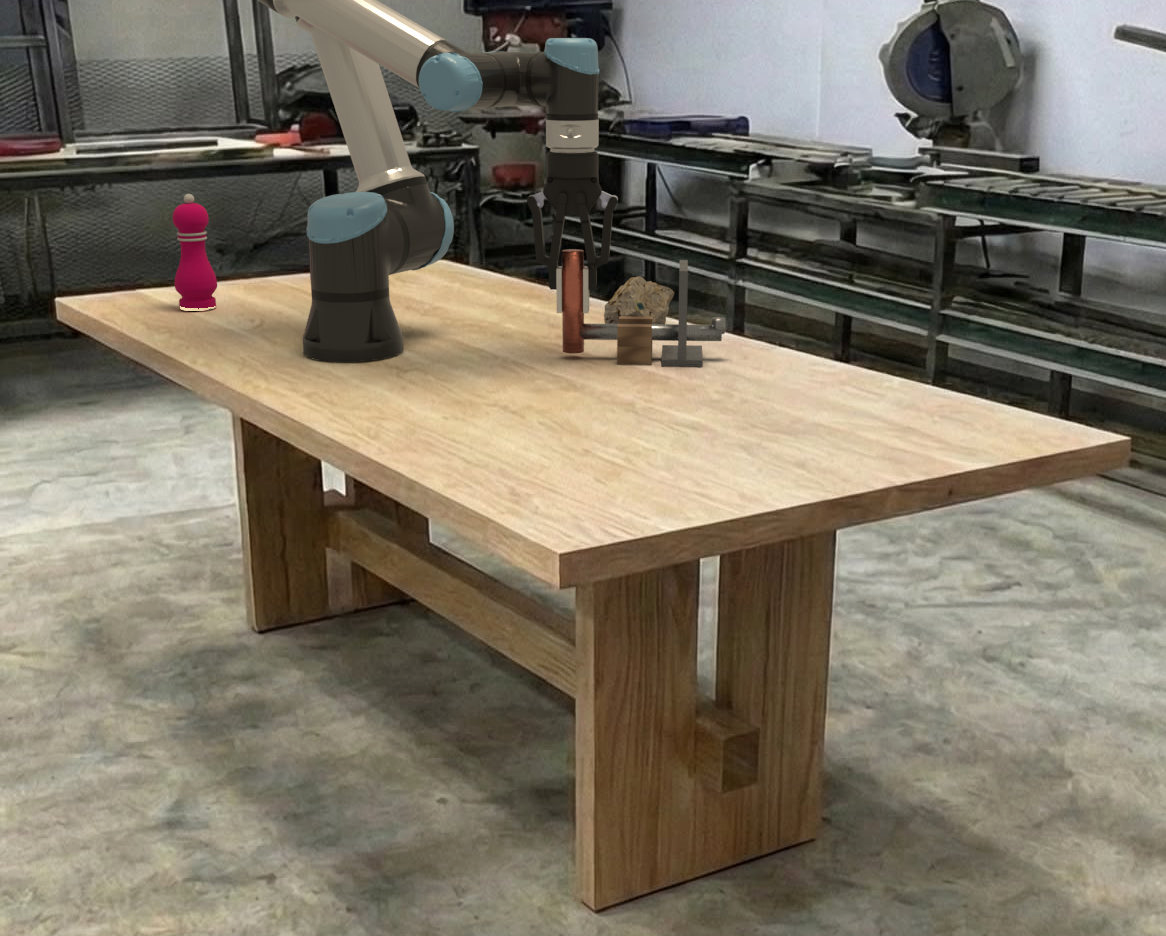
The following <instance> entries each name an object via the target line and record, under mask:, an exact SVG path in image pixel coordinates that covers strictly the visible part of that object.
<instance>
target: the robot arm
mask: <svg viewBox="0 0 1166 936" xmlns="http://www.w3.org/2000/svg"><path fill="white" fill-rule="evenodd" d="M257 2H259V3H261V4H263V5H265V6H266V7H267V8H268V9H270V10H272V11H274V12H276V13H278V14H279V15H281V16H282V17H285V18H295V22H296V26H297V27H298V28H300V29H302V30H304V31H305V32H307V33H308V34H310V35H311V39H312V43H313V45H314V48H315V51H316V55H317V57H318V60H319V64H320V66H321V67H320V68H321V70H322V73H323V75H324V79H325V82H326V86H327V88H328V92H329V94H330V97H331V100H332V103H333V105H334V106H333V107H334V109H335V112H336V115H337V118H338V122H339V124H340V128H341V131H342V134H343V137H344V140H345V143H346V147H347V149H348V153H349V156H350V159H351V162H352V165H353V168H354V172H355V174H356V176H357V180H358V186H357V188H356V191H352V192H345V193H342V194H340V193H337V194H331V195H328V196H325V197H321V198H319V199H317V200H315V201H313V203H311V204H310V206H309V207H308V210H307V226H306V236H307V247H308V248H307V250H308V263H309V277H310V291H311V292H310V293H311V306H310V308H309V313H308V316H307V320H306V324H305V329H304V331H303V336H302V354H303V355H304V356H305V357H306V356H307V358H309V357H310V358H309V359H312V358H313V360H316V359H317V361H322V360H323V362H337V363H352V362H353V363H355V362H370V361H377V360H384V359H387V358H392V357H395V356H398V355H399V354H401V353H402V352H403V351H404V337H403V333H402V330H401V328H400V326H399V322H398V320H397V317H396V314H395V311H394V308H393V306H392V304H391V303H392V302H391V300H390V299H391V297H390V280H389V279H390V277H389V276H391V275H395V274H396V275H397V274H399V273H404V272H408V271H418V270H421V269H423V268H426V267H427V266H430V265H433V264H435V263H437V262H439V261H440V260H441V259H442V258H443V257H444V256H445V255H446V253H447V252H448V250H449V248H450V245H451V244H452V241H453V239H454V238H453V237H454V232H455V225H454V223H455V222H454V217H453V213H452V211H451V208H450V207H449V204H448V203H447V202H446V200H445V199H443V198H441V197H440V196H439V195H438V194H437V193H435V192H432V191H431V190H430V188H429V184H428V182H427V178H426V176H425V174H423V173H422V172H420V171H418V170H416V169H415V168H413V166H412V164H411V160H410V157H409V154H408V152H407V149H406V146H405V141H404V139H403V136H402V133H401V130H400V127H399V123H398V120H397V118H396V114H395V111H394V108H393V104H392V101H391V98H390V96H389V95H390V94H389V92H388V89H387V85H386V82H385V80H384V77H383V73H382V71H381V67H382V68H385V69H386V70H388V71H390V72H391V73H393V74H394V75H397V76H398V77H399V78H402V79H403V80H405V81H406V82H408V83H410V84H411V85H413V86H415V87H416V88H419V91H420V93H421V95H422V97H423V99H424V100H425V101H426V103H427V104H428V105H429V106H430V107H432V108H433V109H436V110H437V111H442V112H443V111H447V112H451V113H459V112H463V111H470V110H477V109H489V108H492V109H493V108H500V107H501V108H504V107H544V108H545V141H546V142H545V146H546V147H547V148H549V151H547V153H545V155H546V156H545V159H546V161H545V163H546V164H545V165H546V167H545V169H546V171H545V173H546V178H545V179H546V180H545V181H546V182H545V184H544V186H543V188H542V191H539V192H538V193H535V194H530V195H529V196H528V197H527V198H526V203H527V205H528V207H529V211H530V212H531V215H532V216H531V217H532V226H533V228H532V229H533V240H534V250H535V261H536V263H537V264H538V265H543V266H545V267H547V268H548V287H549V289H550V290H556V314H562V265H560V266H559V264H558V263H559V258H560V257H559V256H560V252H561V251H560V250H561V246H562V239H563V232H564V226H565V220H566V217H568V216H571V215H573V216H575V217H579V222H580V224H581V233H582V237H583V243H584V250H585V255H586V262H587V265H584V268H583V313H584V314H589V312H590V291H595V290H596V288H597V286H598V279H597V278H598V268H599V267H600V266H603V265H607V264H608V263H609V260H610V254H611V253H610V252H611V251H610V250H611V239H612V229H613V228H612V226H613V215H614V211H615V208H616V206H617V204H618V202H619V201H618V200H619V198H618V196H617V195H616V194H613V195H612V194H610V193H608V192H605V191H603V188H602V186H601V184H600V181H599V153H598V151H596V150H595V149H596V148H598V146H599V145H600V144H599V138H600V137H599V136H600V135H599V129H600V127H599V126H600V125H599V123H600V122H599V121H600V120H599V74H600V72H601V71H600V68H599V51H598V50H599V49H598V44H597V42H596V41H595V40H594V39H593V38H590V37H589V38H587V37H573V38H572V37H565V38H564V37H562V38H561V37H556V38H554V37H552V38H551V37H549V38H548V39H547V40H546V41H545V43H544V45H545V46H544V50H543V51H541V52H540V51H539V52H528V51H527V52H525V51H524V52H522V51H505V50H503V51H502V50H499V51H497V50H495V51H494V50H493V51H488V52H487V51H485V52H476V53H475V52H467V51H465V50H464V49H462V48H460V47H458V46H457V45H455V44H453V43H451V42H449V41H447V40H446V39H445V38H443V37H441V36H440V35H438V34H436V33H434V32H432V31H430V30H429V29H427V28H425V27H424V26H422V25H420V24H419V23H416V22H415V21H414V20H412V19H410V18H409V17H407V16H404V15H403V14H401V13H399V12H397V11H396V10H395V9H393V8H391V7H389V6H387V5H385V4H384V3H382V2H380V1H379V0H257ZM380 66H381V67H380ZM545 199H546V201H548V203H549V204H550V206H552V207H551V208H553V210H554V211H555V217H554V218H555V219H554V227H553V233H552V238H551V239H552V240H551V246H550V251H549V255H546V254H547V253H546V243H545V234H544V233H545V232H544V222H543V211H542V208H543V207H544V205H545V202H544V200H545ZM599 199H600V201H601V207H602V208H603V209H604V212H603V219H602V220H603V221H602V233H601V244H600V246H601V247H600V255H597V253H596V247H595V242H594V235H593V229H592V228H593V227H592V223H591V216H590V211H591V210H592V208H593V207H594V205H595V204H596V203H597V201H598V200H599Z"/></svg>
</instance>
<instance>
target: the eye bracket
mask: <svg viewBox="0 0 1166 936" xmlns="http://www.w3.org/2000/svg"><path fill="white" fill-rule="evenodd" d="M688 260H689V259H680V260H679V268H678V269H679V273H678V274H679V277H678V278H679V282H678V285H679V286H678V325H679V327H678V342H677V345H676V344H673V345H672V344H662V346H661V347H662V348H661V364H660V365H661V367H667V368H668V367H671V368H673V367H674V368H675V367H676V368H677V367H679V368H682V367H683V368H687V367H688V368H691V367H692V368H703V367H704V366H703V364H704V363H703V361H704V360H703V359H704V358H703V345H691V344H689V345H688V344H687V343H688V341H687V325H688V292H689V291H688V290H689V289H688V288H689V287H688V286H689V285H688V284H689V282H688V281H689V262H688Z"/></svg>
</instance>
